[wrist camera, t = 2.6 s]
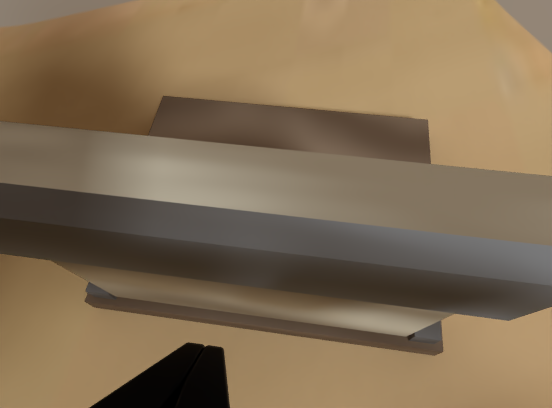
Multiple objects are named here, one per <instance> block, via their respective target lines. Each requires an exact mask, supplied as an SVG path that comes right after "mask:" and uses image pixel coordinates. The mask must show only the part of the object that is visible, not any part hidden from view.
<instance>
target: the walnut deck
mask: <svg viewBox="0 0 552 408" xmlns="http://www.w3.org/2000/svg"><path fill="white" fill-rule="evenodd" d="M148 136H155V137H165V138H175V139H185V140H195V141H205V142H215V143H225V144H235V145H245V146H255V147H265V148H275V149H285V150H295V151H305V152H315V153H325V154H335V155H345V156H355V157H365V158H375V159H385V160H395V161H405V162H415V163H425V164H431V160H430V145H429V130H428V120H425V119H414V118H403V117H392V116H380V115H369V114H358V113H347V112H336V111H325V110H314V109H303V108H292V107H281V106H269V105H258V104H247V103H236V102H225V101H214V100H203V99H192V98H181V97H170V96H163V98H162V101H161V103H160V106H159V108H158V111H157V114H156V116H155V119H154V122H153V124H152V127H151V129H150V132H149V135H148ZM86 292H87V293H88V294H87V297H86V299H85V302H86V303H88V304H90V305H92V306H93V307H96V308H103V309H110V310H117V311H124V312H131V313H138V314H145V315H152V316H159V317H166V318H173V319H181V320H188V321H195V322H202V323H209V324H216V325H223V326H230V327H237V328H244V329H251V330H258V331H265V332H272V333H279V334H286V335H293V336H301V337H308V338H315V339H322V340H329V341H336V342H343V343H350V344H357V345H364V346H371V347H378V348H385V349H392V350H399V351H406V352H414V353H421V354H428V355H437V354H439V353H442V352H443V341H442V326H441V320H440V321H438V322H436V323H434V324H432V325H430V326H428V327H425V328H423V329H421V330H419V331H417V332H415V333H413V334H411V335H408V336H406V337H405V336H398V335H390V334H383V333H376V332H369V331H362V330H354V329H347V328H340V327H333V326H325V325H318V324H311V323H304V322H296V321H289V320H282V319H275V318H268V317H260V316H253V315H246V314H239V313H231V312H224V311H217V310H210V309H202V308H195V307H188V306H181V305H174V304H166V303H159V302H152V301H145V300H137V299H130V298H123V297H116V296H114V295H112V294H110V293H108V292H107V291H105V290H103V289H101V288H99V287H98V286H96V285H94V284H92V283H90V282H89V283H88V286H87V288H86Z"/></svg>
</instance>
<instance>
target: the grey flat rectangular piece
mask: <svg viewBox="0 0 552 408" xmlns="http://www.w3.org/2000/svg"><path fill="white" fill-rule="evenodd" d="M0 254H7V255H14V256H22V257H29V258H37V259H45V260H51V261H52V262H54V263H56V264H58V265H60V266H62V267H63V268H65V269H67V270H69V271H71V272H72V273H74V274H76V275H78V276H80V277H81V278H83V279H85V280H87V281H89V282H90V283H92V284H94V285H96V286H98V287H99V288H101V289H103V290H105V291H107V292H108V293H110V294H112V295H114V296H116V297H123V298H130V299H137V300H145V301H152V302H159V303H166V304H174V305H181V306H188V307H195V308H202V309H210V310H217V311H224V312H231V313H239V314H246V315H253V316H260V317H268V318H275V319H282V320H289V321H296V322H304V323H311V324H318V325H325V326H333V327H340V328H347V329H354V330H362V331H369V332H376V333H383V334H390V335H398V336H405V337H406V336H408V335H411V334H413V333H415V332H417V331H419V330H421V329H423V328H425V327H428V326H430V325H432V324H434V323H436V322H438V321H440V320H442V319H445V318H447V317H449V316H451V315H453V314H462V315H469V316H477V317H485V318H492V319H500V320H507V321H509V320H512V319H515V318H518V317H521V316H525V315H528V314H531V313H534V312H537V311H540V310H543V309H546V308H549V307H552V176H546V175H536V174H525V173H515V172H505V171H495V170H485V169H475V168H465V167H455V166H445V165H435V164H425V163H415V162H405V161H395V160H385V159H375V158H365V157H355V156H345V155H335V154H325V153H315V152H305V151H295V150H285V149H275V148H265V147H255V146H245V145H235V144H225V143H215V142H205V141H195V140H185V139H175V138H165V137H155V136H145V135H134V134H124V133H114V132H104V131H94V130H84V129H74V128H64V127H54V126H44V125H34V124H24V123H14V122H4V121H0Z"/></svg>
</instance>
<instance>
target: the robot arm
mask: <svg viewBox="0 0 552 408" xmlns="http://www.w3.org/2000/svg"><path fill="white" fill-rule="evenodd" d="M90 408H230V404H229V394H228V385H227V375H226V366H225V357H224V349H223V348H222V347H217V346H210V345H208V346H206V347H205V346H204V345H203V344H196V343H186V344H184V345H183V346H181V347H180V348H178V349H177V350H175V351H174V352H172V353H171V354H169V355H168V356H166V357H165V358H163V359H162V360H160V361H159V362H157V363H156V364H154V365H153V366H151V367H150V368H148V369H147V370H145V371H144V372H142V373H141V374H139V375H138V376H136V377H135V378H133V379H132V380H130V381H129V382H127V383H126V384H124V385H123V386H121V387H120V388H118V389H117V390H115V391H114V392H112V393H111V394H109V395H108V396H106V397H105V398H103V399H102V400H100V401H99V402H97V403H96V404H94V405H93V406H91V407H90Z"/></svg>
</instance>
